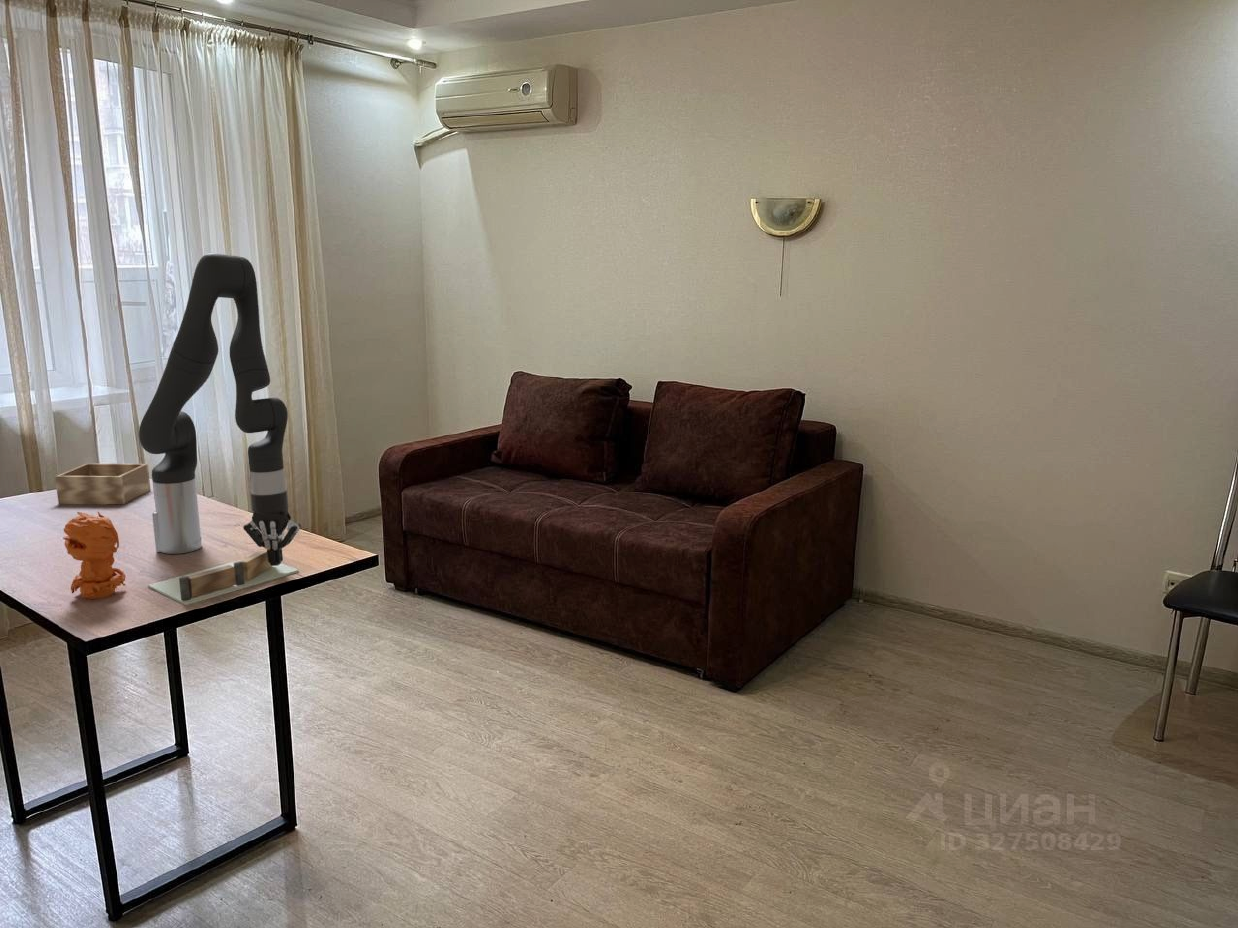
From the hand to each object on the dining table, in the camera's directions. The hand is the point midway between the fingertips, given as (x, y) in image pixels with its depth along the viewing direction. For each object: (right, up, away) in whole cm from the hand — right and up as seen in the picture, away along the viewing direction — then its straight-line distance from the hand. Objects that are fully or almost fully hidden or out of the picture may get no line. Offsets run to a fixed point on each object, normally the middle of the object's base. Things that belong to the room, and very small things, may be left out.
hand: (275, 564), depth 206 cm
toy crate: (-72, +13, +61) cm, 95 cm away
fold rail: (-4, -1, -1) cm, 4 cm away
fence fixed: (-9, -5, -11) cm, 15 cm away
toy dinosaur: (-33, -5, -12) cm, 35 cm away
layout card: (-10, -3, -3) cm, 11 cm away
